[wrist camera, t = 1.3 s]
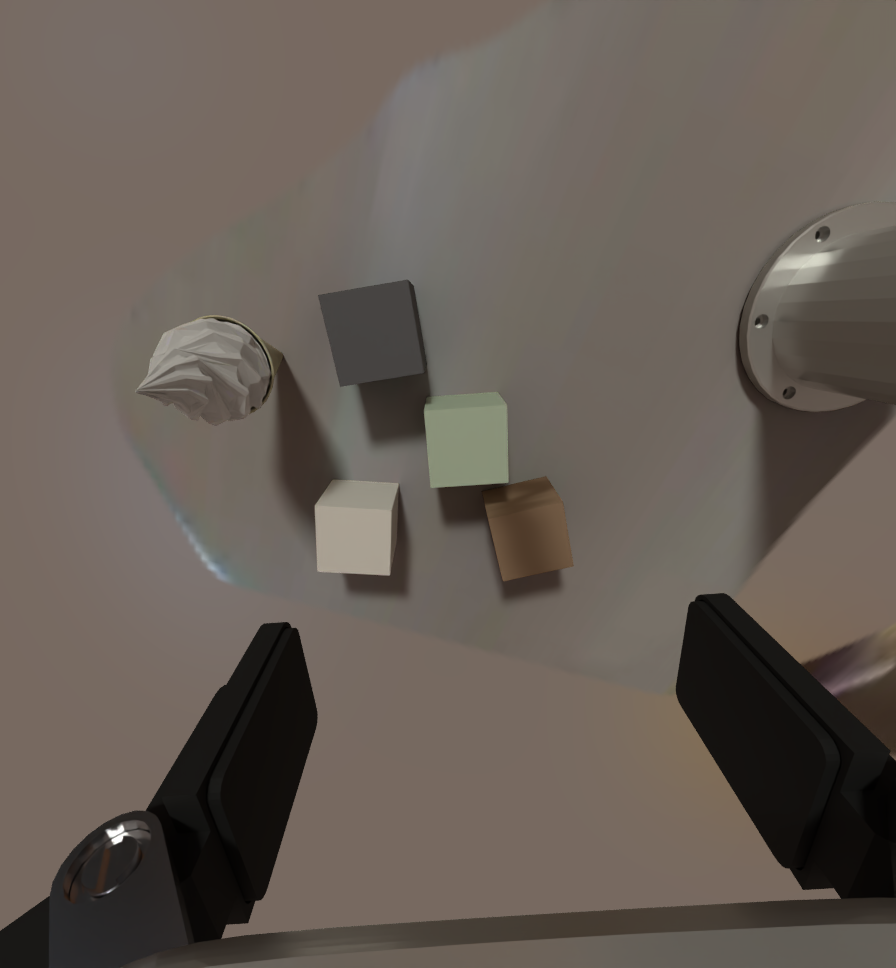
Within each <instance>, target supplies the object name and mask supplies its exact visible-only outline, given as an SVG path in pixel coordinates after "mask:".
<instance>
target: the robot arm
mask: <svg viewBox="0 0 896 968" xmlns="http://www.w3.org/2000/svg"><path fill="white" fill-rule="evenodd" d="M755 320H756V321H755ZM739 347H740V353H741V359H742V363H743V366H744V368H745V371H746V373H747V375H748V378H749V379H750V380H751V382H752V383H753V384H754V386H755V387H756V389H757V390H758V391H760V392H761V393H762V394H763V395H764V396H765V397H767V398H768V399H769V400H771V401H773V402H775V403H777V404H780V405H782V406H785V407H789V408H792V409H796V410H800V411H808V412H826V411H834V410H839V409H843V408H847V407H850V406H853V405H855V404H858V403H860V402H862V401H865V400H867V399H868V400H873V401H878V402H884V403H889V404H894V405H896V202H879V201H874V202H868V203H863V204H857V205H853V206H849V207H846V208H843V209H839V210H836V211H833V212H830V213H828V214H826V215H824V216H822V217H820V218H818V219H816V220H814V221H812V222H810V223H809V224H808V225H806V226H805V227H803V228H802V229H800V230H799V231H798V232H796V233H795V234H793V235H792V236H791V237H790V238H789V239H788V240H787V241H786V242H785V243H784V244H783V245H782V246H781V247H780V248H779V249H778V250H776V252H775V253H774V254H773V256H772V257H771V258H770V259H769V261H768V262H767V263H766V265H765V266H764V267H763V268H762V270H761V272H760V273H759V275H758V277H757V279H756V280H755V282H754V284H753V286H752V288H751V290H750V292H749V295H748V298H747V300H746V303H745V306H744V309H743V313H742V318H741V323H740V333H739ZM676 695H677V698H678V701H679V703H680V705H681V707H682V708H683V710H684V712H685V713H686V715H687V717H688V718H689V720H690V721H691V723H692V725H693V726H694V728H695V729H696V731H697V732H698V734H699V736H700V737H701V739H702V741H703V742H704V744H705V746H706V747H707V749H708V750H709V752H710V754H711V755H712V757H713V758H714V760H715V762H716V763H717V765H718V766H719V768H720V770H721V771H722V773H723V775H724V776H725V778H726V779H727V781H728V783H729V784H730V786H731V787H732V789H733V791H734V792H735V794H736V795H737V797H738V799H739V800H740V802H741V804H742V805H743V807H744V808H745V810H746V812H747V813H748V815H749V816H750V818H751V820H752V821H753V823H754V825H755V826H756V828H757V829H758V831H759V833H760V834H761V836H762V837H763V839H764V841H765V842H766V844H767V845H768V847H769V849H770V850H771V852H772V854H773V855H774V856H775V858H776V859H777V861H778V862H779V863H780V864H781V865H782V866H783V867H785V868H790V870H791V871H792V873H793V875H794V876H795V878H796V879H797V881H798V882H799V884H800V886H801V887H802V889H803V890H809V889H826V888H834V889H835V890H836V892H837V893H838V895H839V896H840V898H841V899H819V900H789V901H768V902H750V903H733V904H732V903H731V904H713V905H694V906H676V907H657V908H640V909H639V908H638V909H621V910H606V911H588V912H571V913H556V914H555V913H554V914H538V915H522V916H506V917H505V916H504V917H488V918H472V919H458V920H442V921H426V922H411V923H398V924H397V923H396V924H381V925H367V926H351V927H336V928H324V929H313V930H301V931H290V932H279V933H267V934H256V935H244V936H238V937H231V938H225V939H221V938H222V935H223V932H224V929H225V926H226V925H227V924H242V923H248V922H249V919H250V915H251V913H252V909H253V906H254V903H255V901H258V900H261V899H262V898H263V897H264V895H265V893H266V891H267V888H268V884H269V881H270V878H271V875H272V871H273V868H274V865H275V861H276V858H277V854H278V852H279V848H280V845H281V841H282V838H283V835H284V832H285V828H286V825H287V822H288V819H289V815H290V812H291V809H292V806H293V802H294V799H295V796H296V792H297V789H298V786H299V783H300V779H301V776H302V773H303V769H304V766H305V763H306V759H307V756H308V753H309V750H310V746H311V743H312V740H313V736H314V733H315V730H316V726H317V708H316V704H315V699H314V695H313V691H312V687H311V683H310V678H309V674H308V670H307V666H306V662H305V657H304V653H303V648H302V644H301V640H300V636H299V632H298V630H297V628H291V626H290V624H289V623H288V622H282V623H269V624H268V623H267V624H263V625H262V626H261V627H260V628H259V630H258V632H257V633H256V635H255V637H254V638H253V640H252V642H251V644H250V645H249V647H248V649H247V650H246V652H245V654H244V656H243V657H242V659H241V661H240V662H239V664H238V666H237V668H236V669H235V671H234V673H233V675H232V676H231V678H230V680H229V681H228V683H227V685H224V686H223V687H221V688H220V689H219V690H218V692H217V693H216V694H215V696H214V698H213V699H212V701H211V703H210V704H209V706H208V708H207V709H206V711H205V713H204V714H203V716H202V718H201V719H200V721H199V723H198V724H197V726H196V728H195V729H194V731H193V733H192V734H191V736H190V738H189V739H188V741H187V743H186V744H185V746H184V748H183V749H182V751H181V753H180V754H179V756H178V758H177V759H176V761H175V763H174V764H173V766H172V768H171V770H170V771H169V773H168V774H167V776H166V778H165V779H164V781H163V783H162V784H161V786H160V788H159V789H158V791H157V793H156V795H155V796H154V798H153V799H152V801H151V803H150V804H149V806H148V808H147V809H146V811H132V812H129V813H125V814H121V815H119V816H117V817H115V818H113V819H111V820H109V821H107V822H105V823H104V824H102V825H101V826H99V827H98V828H97V829H96V830H94V831H92V832H91V833H90V834H88V835H87V836H86V837H85V838H84V839H83V840H82V841H81V842H80V843H79V844H78V845H77V846H76V847H75V848H74V849H73V850H72V852H71V853H70V854H69V856H68V857H67V858H66V860H65V861H64V862H63V864H62V865H61V867H60V869H59V870H58V873H57V874H56V876H55V879H54V880H53V883H52V888H51V892H50V896H49V897H47V898H46V899H44V900H43V901H42V902H40V903H39V904H37V905H36V906H35V907H33V908H32V909H30V910H29V911H28V912H26V913H25V914H23V915H22V916H21V917H19V918H18V919H16V920H15V921H14V922H12V923H11V924H9V925H8V926H7V927H5V928H4V929H2V930H1V931H0V968H896V761H895V760H894V759H893V758H892V757H891V756H890V755H889V753H890V750H889V749H888V748H887V747H886V746H885V745H884V744H883V743H882V742H881V741H880V740H879V739H878V738H877V737H875V736H874V735H873V734H872V733H871V732H870V731H869V730H868V729H867V728H866V727H865V726H864V725H863V724H862V723H861V722H860V721H859V720H858V719H857V718H856V717H855V716H854V715H853V714H852V713H851V712H849V711H848V710H847V709H846V708H845V707H844V706H843V705H842V704H841V703H840V702H839V701H838V700H837V699H836V698H835V697H834V696H833V695H832V694H831V693H830V692H829V691H828V690H827V689H826V688H824V687H823V686H822V685H821V684H820V683H819V682H818V681H817V680H816V679H815V678H814V677H813V676H812V675H811V674H810V673H809V672H808V671H807V670H806V669H805V668H804V667H803V666H802V665H801V664H800V663H798V662H797V661H796V660H795V659H794V658H793V657H792V656H791V655H790V654H789V653H788V652H787V651H786V650H785V649H784V648H783V647H782V646H781V645H780V644H779V643H778V642H777V641H775V639H773V638H772V637H771V636H770V635H769V634H768V633H767V632H766V631H765V630H764V629H763V628H762V627H761V626H760V625H759V624H758V623H757V622H756V621H755V620H754V619H753V618H752V617H750V615H748V614H747V613H746V612H745V611H744V610H743V609H742V608H741V607H740V606H739V605H738V604H737V603H736V602H735V601H734V600H733V599H732V598H731V597H730V596H728V595H727V594H724V593H720V594H704V595H698V596H697V597H696V599H695V602H691V603H690V604H689V607H688V613H687V619H686V626H685V632H684V639H683V645H682V651H681V658H680V664H679V670H678V677H677V683H676Z"/></svg>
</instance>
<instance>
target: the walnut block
mask: <svg viewBox="0 0 896 968" xmlns="http://www.w3.org/2000/svg"><path fill="white" fill-rule="evenodd" d="M482 494H483V499H484V503H485V508H486V512H487V517H488V521H489V525H490V529H491V533H492V538H493V542H494V546H495V550H496V554H497V559H498V563H499V567H500V571H501V575H502V580H503V581H508V580H512V579H517V578H521V577H526V576H531V575H535V574H540V573H545V572H549V571H554V570H558V569H563V568H568V567H572V566H573V560H572V554H571V548H570V542H569V536H568V530H567V524H566V518H565V512H564V506H563V501H562V500H561V498H560V497H559V495H558V494H557V492H556V491H555V489H554V488H553V486H552V485H551V483H550V481H549V480H548V478H547V477H546V476H545V477H541V478H537V479H532V480H528V481H524V482H519V483H515V484H511V485H507V486H502V487H498V488H494V489H489V490H485V491H482Z"/></svg>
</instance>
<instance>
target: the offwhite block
mask: <svg viewBox="0 0 896 968" xmlns="http://www.w3.org/2000/svg"><path fill="white" fill-rule="evenodd" d="M398 494H399V483H383V482H367V481H351V480H335V479H333V480H332V481H331V483H330V484H329V486H328V487H327V488H326V490H325V491H324V493H323V494H322V496H321V497H320V499H319V500H318V502H317V503H316V505H315V524H316V547H317V571H318V572H333V573H351V574H370V575H388V576H390V573H391V568H392V563H393V558H394V553H395V549H396V544H397V525H398Z"/></svg>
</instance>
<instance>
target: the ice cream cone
mask: <svg viewBox="0 0 896 968" xmlns="http://www.w3.org/2000/svg"><path fill="white" fill-rule="evenodd" d="M282 358H283V354H282V353H281V352H280V351H278V350H277V349H275V348H274V347H273V346H271V345H270V344H268V343H267V342H265V341H264V340H262V339H261V338H260V337H258V336H257V335H256V334H255V333H254V332H253V331H252V330H251V329H250V328H248V327H247V326H246V325H244V324H243V323H241V322H239V321H237V320H235V319H232V318H228V317H225V316H218V315H212V316H204V317H200V318H197V319H195V320H193V321H191V322H190V323H185V324H183V325H180V326H178V327H176V328H174V329H172V330H169V331H167V332H165V333H164V334H163V336H162V338H161V340H160V342H159V344H158V346H157V348H156V350H155V352H154V354H153V358H151V359H150V365H149V371H148V375H147V377H146V378H145V379H144V381H143V382H142V383H141V385H140V386H139V387H138V389H137V390H136V391H135V392H136V393H139V394H143V395H146V396H149V397H151V398H154V399H157V400H159V401H162V404H163V405H164V406H168V405H169V404H171V403H174V406H175V408H176V409H177V410H179V411H180V412H181V413H183V414H184V415H186V416H187V417H188V418H190V419H191V420H198V419H199V417H200V416H201V417H202V418H203V419H205V420H206V421H207V422H208V423H209V424H212V425H215V426H217V425H219V424H221V423H223V422H225V421H227V420H228V421H233V420H239V419H244V418H245V417H246V416H247V415H248V414H250V413H253V412H255V411H256V410H257V409H260V408H261V406H262V405H263V404H264V403H265V402H266V400H267V399H268V397H269V395H270V393H271V390H272V387H273V381H274V377H275V375H276V373H277V370H278V368H279V366H280V363H281V361H282Z"/></svg>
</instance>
